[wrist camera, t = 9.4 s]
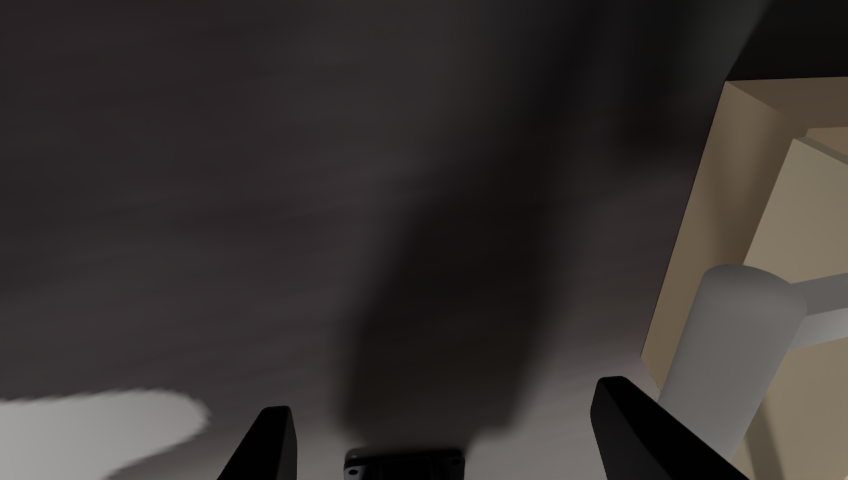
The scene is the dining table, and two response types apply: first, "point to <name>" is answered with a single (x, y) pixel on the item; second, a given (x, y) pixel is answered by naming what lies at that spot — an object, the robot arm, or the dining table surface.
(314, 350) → the dining table surface
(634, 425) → the robot arm
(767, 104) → the carton
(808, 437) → the flap
